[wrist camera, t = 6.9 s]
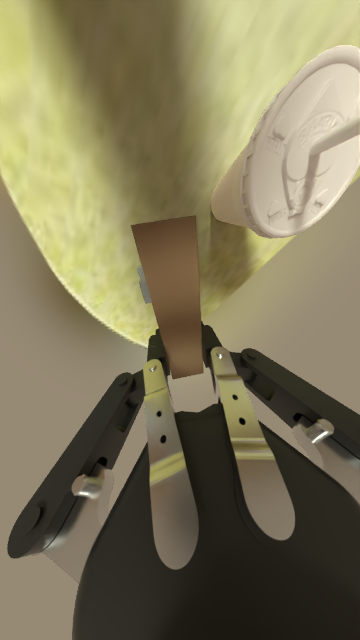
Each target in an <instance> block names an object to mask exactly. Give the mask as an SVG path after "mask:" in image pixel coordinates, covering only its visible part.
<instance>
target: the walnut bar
mask: <svg viewBox="0 0 360 640" xmlns="http://www.w3.org/2000/svg"><path fill="white" fill-rule="evenodd" d="M131 228H132V231H133V235H134V239H135V242H136V246H137V250H138V253H139V257H140V261H141V264H142V268H143V272H144V275H145V279H146V283H147V286H148V290H149V294H150V297H151V301H152V305H153V308H154V312H155V316H156V319H157V323H158V327H159V330H160V334H161V338H162V341H163V345H164V347H165V350H166V354H167V358H168V361H169V367H170V371H171V374H172V378H173V379H177V378H181V377H186V376H191V375H196V374H201V373H203V358H202V342H201V339H202V332H201V311H200V291H199V270H198V250H197V230H196V216H189V217H182V218H176V219H169V220H162V221H156V222H149V223H142V224H136V225H131Z"/></svg>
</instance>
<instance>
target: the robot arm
mask: <svg viewBox="0 0 360 640" xmlns="http://www.w3.org/2000/svg"><path fill="white" fill-rule="evenodd" d="M201 332H202V339H201V342H202V358H203V361H204V364H205V366H206V368H207V367H209V368H210V370H211V379H212V385H213V391H214V396H215V404H213V405H211V406H210V407H208V408H206V409H204V410H202V411H201V412H198V413H195V412H184V411H181V412H177V413H176V412H175V409H174V405H173V401H172V397H171V394H170V390H169V386H168V380H167V376H168V375H170V367H169V361H168V358H167V354H166V350H165V347H164V345H163V341H162V338H161V334H160V330H159V329H156V335H152V336H151V337H150V339H149V345H148V357H147V363H146V364H145V365H144V367H143V369H142V370H141V371H139V372H137V373H135V374H133V375H132V374H131V373H128V372H126V373H122V374H120V375H119V376H118V377H117V378H116V379H115V380H114V381H113V383H112V384H111V386H110V387H109V389H108V390H107V392H106V393H105V394H104V396H103V397H102V398H101V400H100V401H99V403H98V404H97V406H96V407H95V408H94V410H93V411H92V413H91V414H90V416H89V417H88V418H87V420H86V421H85V423H84V424H83V425H82V427H81V428H80V430H79V431H78V433H77V434H76V435H75V437H74V438H73V440H72V441H71V443H70V444H69V446H68V447H67V449H66V450H65V451H64V453H63V454H62V456H61V457H60V458H59V460H58V461H57V463H56V464H55V466H54V467H53V468H52V470H51V471H50V473H49V474H48V475H47V477H46V478H45V480H44V481H43V483H42V484H41V485H40V487H39V488H38V490H37V491H36V492H35V494H34V495H33V497H32V498H31V500H30V501H29V502H28V504H27V505H26V507H25V508H24V510H23V511H22V512H21V514H20V515H19V517H18V519H17V521H16V523H15V525H14V526H13V529H12V531H11V534H10V537H9V541H8V548H7V549H8V554H9V556H10V557H11V558H20V557H24V556H28V555H38V554H42V553H44V554H45V555H47V556H48V557H49V558H50V559H51V560H52V561H53V562H54V563H56V564H57V565H58V566H59V567H60V568H61V569H63V570H64V571H65V572H66V573H67V574H68V575H69V576H71V577H72V578H73V579H74V580H75V581H76V582H78V583H79V587H78V591H77V596H76V602H75V608H74V616H73V630H72V640H360V415H359V414H357V413H356V412H354V411H352V410H351V409H349V408H348V407H346V406H344V405H343V404H341V403H339V402H338V401H337V400H335V399H333V398H332V397H330V396H328V395H327V394H325V393H324V392H322V391H321V390H319V389H317V388H316V387H314V386H312V385H311V384H309V383H308V382H306V381H305V380H303V379H301V378H300V377H298V376H297V375H295V374H293V373H292V372H290V371H289V370H287V369H286V368H284V367H282V366H281V365H279V364H278V363H276V362H274V361H273V360H271V359H269V358H268V357H266V356H265V355H263V354H262V353H260V352H258V351H257V350H254V349H251V348H247V349H244V350H243V351H242V352H241V353H235V352H229V351H228V350H227V349H226V348H224V347H222V345H221V343H220V341H219V340H218V338H217V336H216V334H215V333H214V331H213V329H212V328H211V327H210V326H208V325H205V326H204V324H203V322H202V321H201ZM245 387H246V388H248V389H249V390H250V391H251V392H252V393H253V394H254V395H255V396H256V397H258V398H259V399H260V400H261V401H262V402H263V403H264V404H265V405H266V406H268V407H269V408H270V409H271V410H272V411H273V412H274V413H275V414H277V415H278V416H279V417H280V418H281V419H282V420H283V421H284V422H285V423H286V424H288V425H289V426H290V427H291V428H292V429H293V434H294V437H295V439H296V440H297V442H298V444H299V445H300V446H301V447H302V448H303V449H304V450H305V451H306V453H307V454H308V456H309V458H310V460H309V459H308V458H307V457H305V456H304V455H303V454H301V453H300V452H299V451H298V450H296V449H295V448H294V447H292V446H291V445H290V444H288V443H287V442H286V441H285V440H283V439H282V438H281V437H279V436H278V435H277V434H276V433H274V432H273V431H272V430H270V429H269V428H267V427H266V426H265V425H264V424H263V423H261V422H260V421H259V420H257V417H256V415H255V412H254V410H253V407H252V404H251V401H250V399H249V396H248V394H247V391H246V388H245ZM143 401H144V406H145V417H146V428H147V439H148V441H147V443H146V445H145V447H144V449H143V451H142V453H141V455H140V457H139V459H138V461H137V462H136V464H135V466H134V468H133V470H132V472H131V474H130V475H129V477H128V479H127V481H126V483H125V485H124V487H123V489H122V490H121V492H120V494H119V496H118V498H117V500H116V502H115V504H114V506H113V507H112V509H111V511H110V513H109V514H108V504H109V498H110V495H111V492H112V489H113V484H114V475H113V472H112V468H113V466H114V464H115V462H116V460H117V458H118V455H119V453H120V451H121V449H122V447H123V445H124V442H125V440H126V438H127V436H128V434H129V431H130V429H131V427H132V425H133V423H134V420H135V418H136V416H137V414H138V412H139V409H140V407H141V405H142V403H143Z"/></svg>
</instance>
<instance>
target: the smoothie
mask: <svg viewBox="0 0 360 640" xmlns="http://www.w3.org/2000/svg"><path fill="white" fill-rule="evenodd" d="M359 166H360V48H358V47H355V46H353V45H338V46H335V47H332V48H329V49H327V50H325V51H323V52H321V53H320V54H318V55H317V56H315V57H314V58H312V59H311V60H310V61H309V62H307V63H306V64H305V65H304V66H303V67H302V68H301V69H300V70H299V71H298V72H297V73H296V74H295V75H294V77H293V78H292V79H291V80H290V81H289V82H288V83H287V84H285V85H284V86H283V87H282V88H281V89H280V90H279V91H278V92H277V94H276V95H275V97H274V98H273V99H272V101H271V102H270V103H269V105H268V106H267V108H266V109H265V110H264V112H263V113H262V115H261V117H260V119H259V121H258V123H257V125H256V127H255V129H254V131H253V133H252V135H251V137H250V140H249V142H248V144H247V145H246V147H245V148H244V149H243V151H242V152H241V153H240V155H239V156H238V157H237V159H236V160H235V161H234V163H233V164H232V165H231V167H230V168H229V169H228V171H227V172H226V173H225V175H224V176H223V177H222V179H221V180H220V182H219V183H218V184H217V186H216V187H215V189H214V191H213V193H212V197H211V210H212V213H213V215H214V217H215V218H216V219H217V220H219V221H221V222H226V223H230V224H234V225H238V226H243V227H247V228H250V229H251V230H252V231H254V232H255V233H256V234H257V235H259V236H262V237H265V238H283V237H290V236H293V235H296V234H299V233H301V232H303V231H304V230H306V229H308V228H309V227H311V226H312V225H314V224H315V223H316V222H317V221H319V220H320V219H321V218H322V217H323V216H324V215H325V214H326V213H327V212H328V211H329V210H330V209H331V208H332V207H333V205H334V204H335V203H336V202H337V201H338V200H339V198H340V197H341V195H342V194H343V193H344V191H345V190H346V188H347V187H348V186H349V184H350V182H351V180H352V179H353V177H354V175H355V173H356V172H357V170H358V168H359Z"/></svg>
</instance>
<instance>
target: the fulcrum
mask: <svg viewBox="0 0 360 640" xmlns="http://www.w3.org/2000/svg"><path fill="white" fill-rule="evenodd" d="M137 269H138V273H139V276H140V281H139V284H140V287H141V291H142V294H143V297H144V300H145V304H146V303H152V301H151V297H150V294H149V290H148V286H147V283H146V279H145V275H144V272H143V268H142V266H138V268H137Z"/></svg>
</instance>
